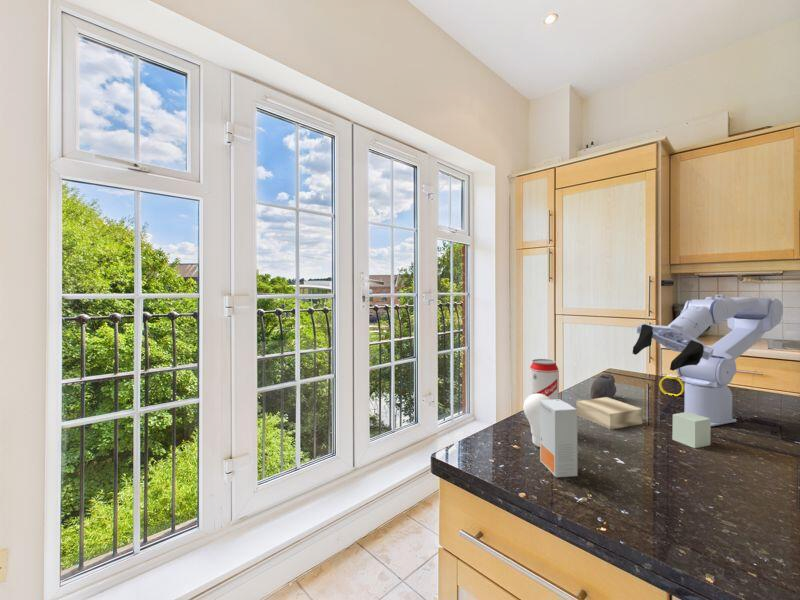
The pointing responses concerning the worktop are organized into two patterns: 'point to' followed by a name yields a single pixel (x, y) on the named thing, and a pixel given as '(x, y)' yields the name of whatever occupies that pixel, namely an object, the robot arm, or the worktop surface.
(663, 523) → the worktop surface
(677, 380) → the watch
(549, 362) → the beer can
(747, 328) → the robot arm
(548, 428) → the skincare box
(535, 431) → the lightbulb
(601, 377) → the perforated stone tool
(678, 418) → the sage block
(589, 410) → the maple block
